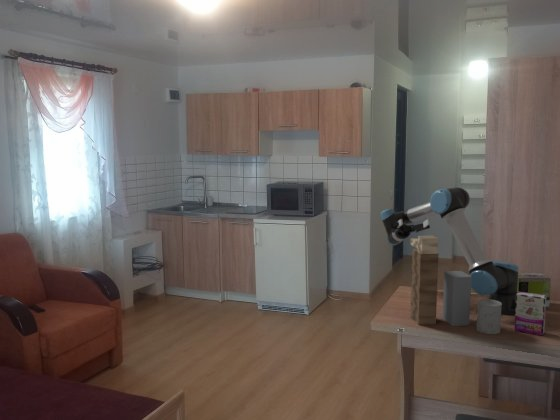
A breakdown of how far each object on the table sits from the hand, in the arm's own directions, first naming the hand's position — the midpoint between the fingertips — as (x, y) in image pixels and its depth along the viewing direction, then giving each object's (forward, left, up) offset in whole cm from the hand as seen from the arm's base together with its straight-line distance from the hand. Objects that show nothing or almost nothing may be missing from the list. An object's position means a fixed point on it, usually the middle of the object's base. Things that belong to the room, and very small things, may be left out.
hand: (415, 221), depth 251 cm
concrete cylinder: (-36, +23, -42) cm, 60 cm away
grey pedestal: (-22, +18, -42) cm, 50 cm away
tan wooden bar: (-6, +18, -9) cm, 21 cm away
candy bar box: (-52, +18, -42) cm, 69 cm away
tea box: (-53, -22, -42) cm, 71 cm away
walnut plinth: (-8, +22, -41) cm, 48 cm away
